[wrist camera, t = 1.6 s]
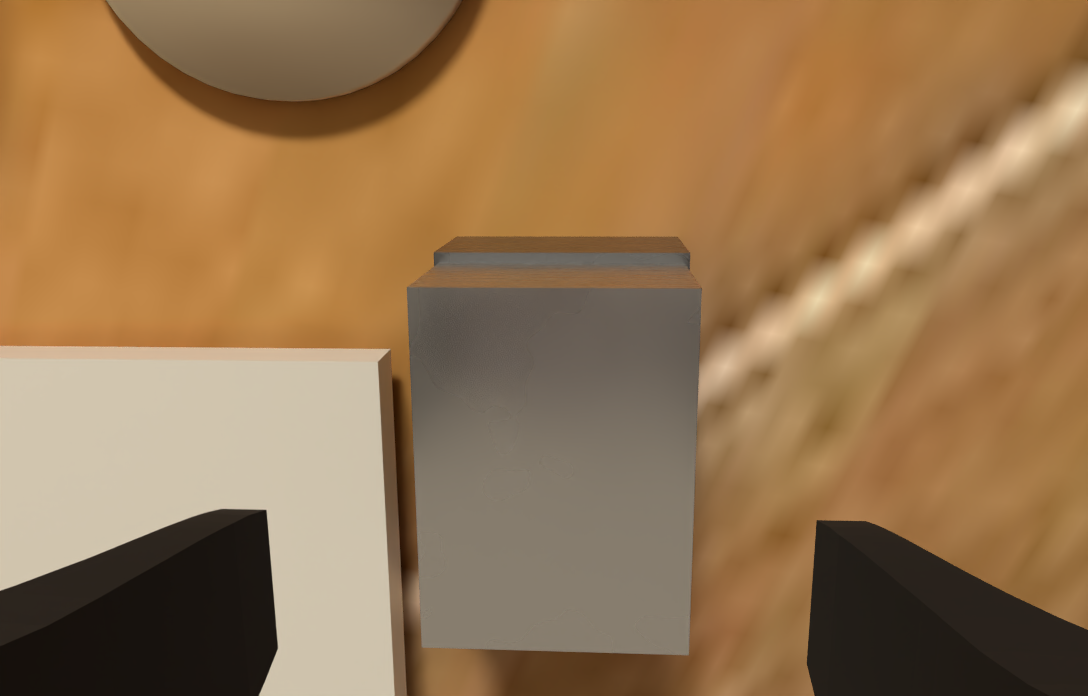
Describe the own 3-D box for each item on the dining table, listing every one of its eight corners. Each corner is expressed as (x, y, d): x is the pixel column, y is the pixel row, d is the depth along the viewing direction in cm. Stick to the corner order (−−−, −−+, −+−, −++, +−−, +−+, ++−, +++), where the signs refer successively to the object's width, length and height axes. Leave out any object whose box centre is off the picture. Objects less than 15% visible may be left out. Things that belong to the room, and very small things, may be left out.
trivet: (416, 782, 24) (401, 833, 22) (-17, 765, 24) (-64, 814, 23) (396, 343, 21) (378, 361, 19) (-90, 339, 22) (-151, 356, 20)
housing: (669, 523, 22) (693, 665, 16) (465, 519, 22) (417, 656, 16) (677, 236, 20) (707, 276, 14) (457, 235, 20) (400, 274, 15)
